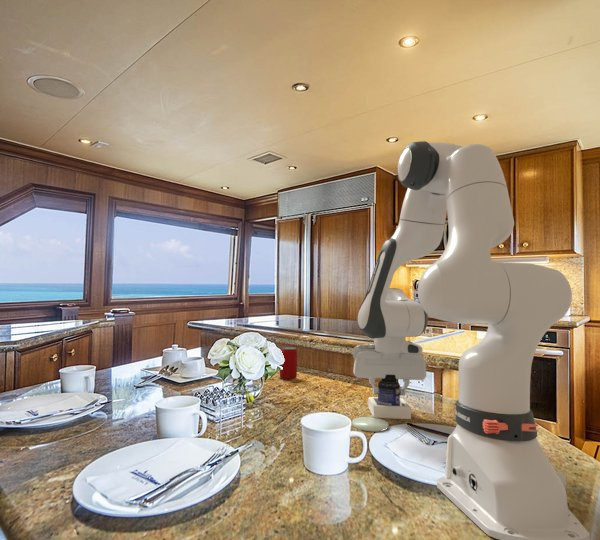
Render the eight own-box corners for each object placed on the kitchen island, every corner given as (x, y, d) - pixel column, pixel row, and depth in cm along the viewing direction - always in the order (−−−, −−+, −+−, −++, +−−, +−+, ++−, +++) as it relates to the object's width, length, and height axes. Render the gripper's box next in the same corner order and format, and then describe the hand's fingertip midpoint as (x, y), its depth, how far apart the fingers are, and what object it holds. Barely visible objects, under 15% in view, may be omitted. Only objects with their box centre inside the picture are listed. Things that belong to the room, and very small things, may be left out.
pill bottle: (400, 417, 107) (400, 376, 107) (377, 415, 108) (378, 374, 109) (399, 410, 113) (399, 372, 113) (377, 409, 114) (378, 370, 115)
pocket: (410, 419, 105) (411, 407, 105) (373, 417, 105) (373, 406, 106) (402, 408, 115) (402, 398, 115) (368, 407, 115) (368, 396, 116)
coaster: (391, 432, 94) (391, 429, 94) (354, 431, 94) (354, 427, 94) (384, 420, 103) (384, 417, 103) (350, 419, 103) (350, 416, 103)
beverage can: (289, 376, 158) (290, 346, 159) (300, 379, 153) (301, 348, 153) (276, 378, 154) (277, 347, 154) (286, 381, 148) (287, 349, 149)
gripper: (354, 345, 109) (353, 395, 108) (428, 347, 108) (427, 398, 107) (352, 342, 115) (351, 390, 114) (421, 345, 114) (421, 393, 113)
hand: (388, 394), depth 111 cm, fingers closed on pill bottle, 6 cm apart
